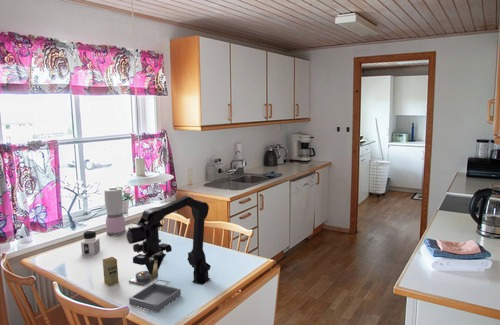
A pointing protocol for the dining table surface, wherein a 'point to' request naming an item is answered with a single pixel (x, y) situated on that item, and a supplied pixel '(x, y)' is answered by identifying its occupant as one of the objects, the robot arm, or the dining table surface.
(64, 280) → the dining table surface
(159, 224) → the robot arm
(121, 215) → the blender
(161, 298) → the tray
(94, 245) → the container
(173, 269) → the dining table surface
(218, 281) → the dining table surface
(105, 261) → the shoe polish box
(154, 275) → the gold cylinder with rim
